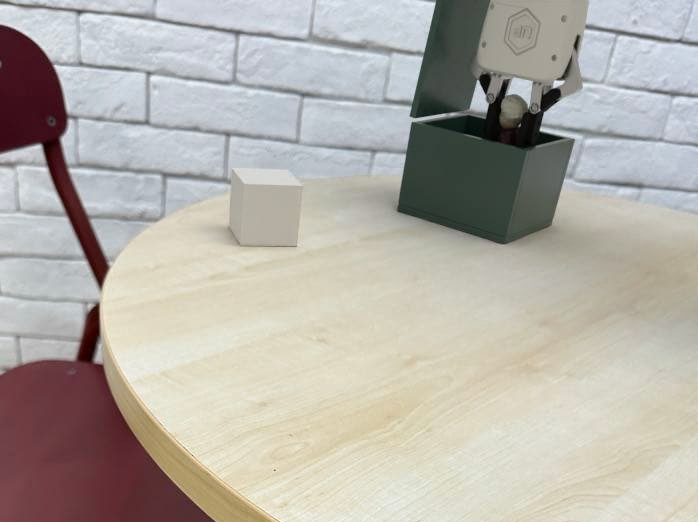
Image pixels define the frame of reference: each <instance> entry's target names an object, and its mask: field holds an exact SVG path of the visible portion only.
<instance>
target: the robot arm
mask: <svg viewBox="0 0 698 522" xmlns="http://www.w3.org/2000/svg"><path fill="white" fill-rule="evenodd" d="M589 3H590V0H490V3H489V7H488V10H487V14H486V17H485V21H484V25H483V29H482V33H481V37H480V41H479V45H478V50H477V52H476V54H475V55H474V57H473V58H472V60H471V61H470V62H469V64H468V70H469V71H470V72H471V73H472V74H473V76H474V77H475V78H476V79H477V81H478V83H479V85H480V88H481V89H482V91H483V93H484V95H485V102H486V103H487V104H488V105H487V106H488V107H487V111H486V115H485V118H486V120H485V124H484V129H483V131H484V133H485V136H484V139H487V140H491V141H495V142H497V141H498V137H499V135H500V133H501V131H502V129H503V127H502V126H501V124H500V121H499V116H500V113H501V111H502V109H501V103H502V100H503V99H504V98H505V97H506V96H507V95H509V90H510V88H511V85H512V81H513V79H514V78H515V79H520V80H525V81H529V82H532V83H531V92H530V100H529V105H528V112H525V113H524V114H523V116H522V120H521V124H520V125H519V126H520V129H519V133H518V137H517V142H516V146H515V147H519V148H523V149H525V148H529V147H533V145H534V144H535V143H536V142H537V139H538V135H539V131H541V126H542V123H543V119H544V115H545V113H547V112H548V111H549V110H550V108H552V107H553V106H555V105H556V104H557V103H559V102H560V101H561V100H562V99H565V98H568V97H571V96H573V95H575V94H578V93H580V92H582V90H583V89H584V84H583V79H582V73H581V68H580V64H579V58H580V53H581V49H582V44H583V41H584V36H585V29H586V26H587V18H588V12H589ZM555 81H557V82H562V81H564V82H563V83H562V84H561V85H558V86H556V87H554V84H555Z"/></svg>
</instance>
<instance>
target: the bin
mask: <svg viewBox="0 0 698 522" xmlns="http://www.w3.org/2000/svg"><path fill="white" fill-rule="evenodd" d="M485 120H486V116H485V117H484V116H481V115H476V114H471V113H469V112H464V113H459V114H453V115H447V116H440V117H435V118H429V119H422V120H416V121H411V123H410V128H409V135H408V141H407V148H406V153H405V159H404V166H403V171H402V176H401V181H400V188H399V195H398V200H397V201H398V202H397V209H396V211H397V212H401V213H404V214H406V215H409V216H412V217H417V218H419V219H423V220H426V221H428V222H432V223H436V224H438V225H441V226H445V227H448V228H451V229H455V230H458V231H461V232H463V233H468V234H470V235H474V236H477V237H480V238H484V239H487V240H490V241H493V242H496V243H499V244H502V245H505V244H508V243H510V242H512V241H515V240H518V239H520V238H522V237H525V236H528V235H530V234H532V233H535V232H538V231H540V230H543V229H545V228H548V227H550V226H552V225H553V221H554V218H555V214H556V211H557V208H558V203H559V200H560V196H561V192H562V190H563V185H564V181H565V178H566V175H567V170H568V167H569V163H570V160H571V156H572V152H573V148H574V145H575V141H576V139H575V138H572V137H568V136H564V135H560V134H556V133H551V132H547V131H543V130H540V131H539V135H538V139H537V142H536V143H535V144H534V145H533V147H529V148H525V149H523V148H519V147H515V146H511V145H507V144H503V143H499V142H495V141H491V140H487V139H484V136H485V133H484V131H483V129H484V124H485ZM519 129H520V125H519V126H518V127H517V128H516V130H517V131H518V133H519Z"/></svg>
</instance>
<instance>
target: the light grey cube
mask: <svg viewBox="0 0 698 522" xmlns="http://www.w3.org/2000/svg"><path fill="white" fill-rule="evenodd" d="M230 174H231V175H230V176H231V177H230V196H229V215H228V228H229V230H230V231H231V233H232V234H233V236H234V238H235V239H236V241H237V243H238V244H239V245H240V246H241V247H242V246H244V247H248V246H250V247H254V246H255V247H298V239H299V231H300V222H301V221H300V220H301V210H302V201H303V192H304V191H303V190H304V185H303V184H302V183H301V181H299V180H298V179H297V178H296V176H294V175H293V174H292V172H291V171H290V170H288V169H277V168H276V169H275V168H274V169H273V168H249V167H248V168H247V167H231V173H230Z"/></svg>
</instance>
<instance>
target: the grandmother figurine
mask: <svg viewBox="0 0 698 522" xmlns="http://www.w3.org/2000/svg"><path fill="white" fill-rule="evenodd" d="M501 109H502V111H501V113H500V116H499V121H500V124H501V126H502V127H503V129H502V131H501V133H500V135H499V137H498V141H497V142H499V143H503V144H507V145H511V146H516V142H517V137H518V131H517V130H516V128H517V127H518V126H520V125H521V120H522V116H523V114H524V113H525V112H528V109H529V105H528V102H527V101H526V100H525V99H524V98H523V97H522V96H521V95H519V94H516V93H512V94H507V96H506V97H505V98H504V99H503V100H502V103H501Z"/></svg>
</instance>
